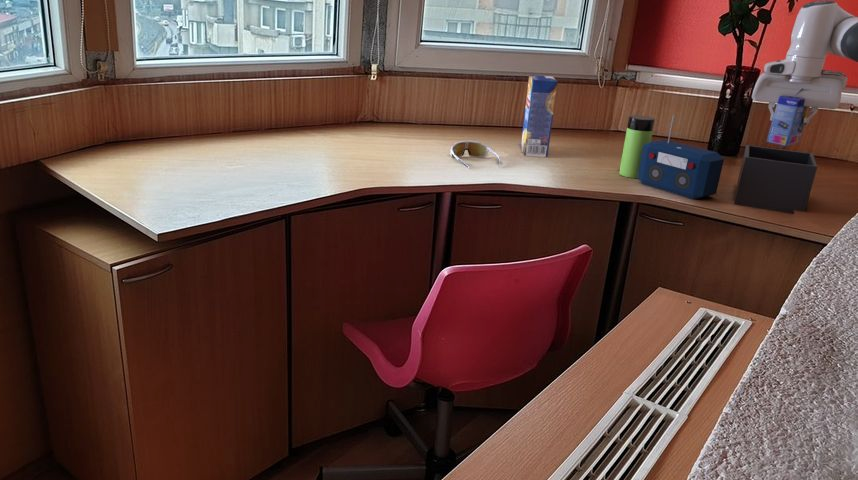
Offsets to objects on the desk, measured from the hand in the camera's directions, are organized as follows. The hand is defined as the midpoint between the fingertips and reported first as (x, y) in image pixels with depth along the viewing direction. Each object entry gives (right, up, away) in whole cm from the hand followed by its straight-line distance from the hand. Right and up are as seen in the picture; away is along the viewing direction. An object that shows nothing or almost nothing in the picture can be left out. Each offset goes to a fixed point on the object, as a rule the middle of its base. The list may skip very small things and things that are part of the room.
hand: (788, 122), depth 188 cm
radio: (-24, -16, +14) cm, 33 cm away
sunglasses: (-78, -6, +33) cm, 85 cm away
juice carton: (-57, 0, +49) cm, 75 cm away
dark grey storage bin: (-1, -20, +8) cm, 22 cm away
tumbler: (-32, -11, +27) cm, 43 cm away
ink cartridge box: (0, -5, +2) cm, 6 cm away
